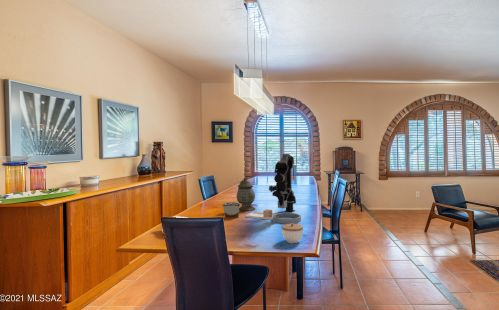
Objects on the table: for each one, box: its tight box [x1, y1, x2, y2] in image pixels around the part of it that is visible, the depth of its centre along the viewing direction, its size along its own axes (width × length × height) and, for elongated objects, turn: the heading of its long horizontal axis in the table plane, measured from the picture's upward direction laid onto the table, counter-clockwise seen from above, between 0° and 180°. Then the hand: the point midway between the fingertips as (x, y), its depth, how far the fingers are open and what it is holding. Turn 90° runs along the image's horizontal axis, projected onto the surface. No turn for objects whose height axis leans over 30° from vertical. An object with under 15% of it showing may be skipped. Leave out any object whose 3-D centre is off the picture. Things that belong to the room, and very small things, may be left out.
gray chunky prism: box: [277, 200, 287, 209], centre depth 200 cm, size 4×4×4 cm
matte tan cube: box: [263, 209, 273, 218], centre depth 208 cm, size 4×4×4 cm
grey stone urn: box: [236, 177, 257, 212], centre depth 233 cm, size 14×14×25 cm
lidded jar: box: [281, 223, 304, 244], centre depth 155 cm, size 11×11×9 cm
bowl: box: [272, 212, 302, 224], centre depth 198 cm, size 18×18×3 cm
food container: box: [222, 201, 241, 219], centre depth 211 cm, size 12×6×10 cm, turn 84°
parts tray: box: [244, 211, 277, 221], centre depth 210 cm, size 13×19×2 cm
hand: (282, 204), depth 200 cm, fingers closed on gray chunky prism, 4 cm apart
